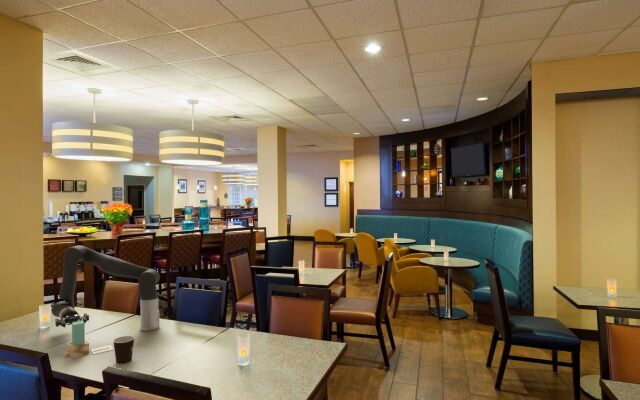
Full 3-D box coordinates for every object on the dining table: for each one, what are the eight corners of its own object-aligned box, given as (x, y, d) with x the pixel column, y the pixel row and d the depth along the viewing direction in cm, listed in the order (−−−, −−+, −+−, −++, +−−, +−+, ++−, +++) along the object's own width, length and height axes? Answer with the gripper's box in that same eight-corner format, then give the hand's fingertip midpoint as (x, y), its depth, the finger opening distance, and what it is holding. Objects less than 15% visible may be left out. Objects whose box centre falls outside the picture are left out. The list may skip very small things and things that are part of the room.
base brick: (83, 349, 187) (83, 339, 187) (89, 353, 182) (89, 343, 182) (67, 354, 181) (67, 343, 181) (72, 358, 177) (72, 347, 177)
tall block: (82, 340, 185) (82, 320, 185) (84, 343, 182) (84, 323, 181) (71, 343, 182) (71, 322, 182) (73, 346, 179) (73, 325, 178)
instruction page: (110, 345, 192) (110, 344, 192) (114, 349, 187) (114, 348, 187) (90, 350, 186) (90, 349, 186) (93, 354, 180) (93, 354, 180)
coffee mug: (125, 365, 168) (125, 343, 168) (108, 364, 170) (108, 342, 170) (142, 355, 180) (142, 334, 180) (126, 353, 182) (126, 332, 181)
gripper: (52, 311, 195) (57, 318, 183) (84, 306, 205) (91, 312, 193) (52, 325, 195) (57, 334, 183) (84, 319, 205) (91, 327, 193)
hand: (75, 323), depth 188 cm, fingers open, 8 cm apart
